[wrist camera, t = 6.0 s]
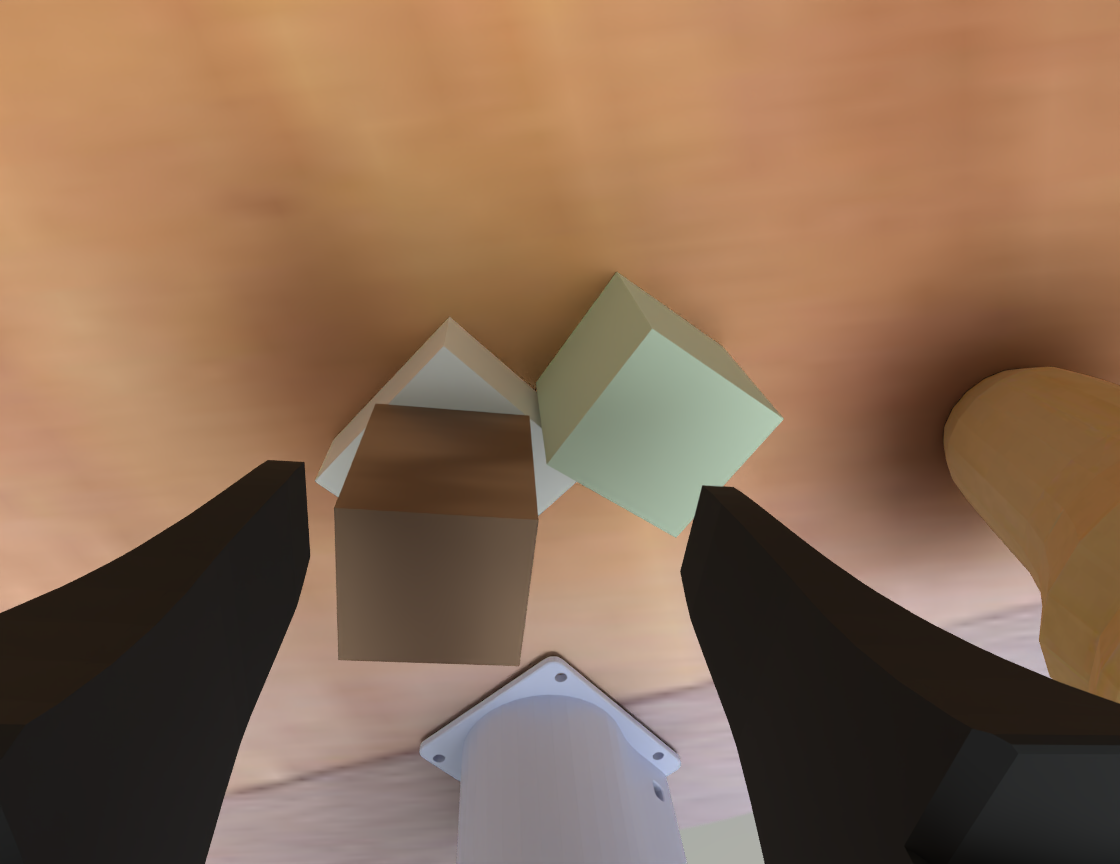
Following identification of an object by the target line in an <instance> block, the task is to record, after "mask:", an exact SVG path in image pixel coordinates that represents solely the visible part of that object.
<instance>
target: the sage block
mask: <svg viewBox="0 0 1120 864" xmlns="http://www.w3.org/2000/svg"><path fill="white" fill-rule="evenodd" d="M536 388H537V396H538V403H539V411H540V418H541V426H542V433H543V441H544V448H545V456H546V464H547V465H548V466H550V467H552V468H554V469H555V470H557V471H559V472H561V473H562V474H564V475H566V476H568V477H569V478H571V479H573V480H575V481H577V482H578V483H580V484H582V485H584V486H585V487H587V488H589V489H591V490H592V491H594V492H596V493H598V494H600V495H601V496H603V497H605V498H607V499H608V500H610V501H612V502H614V503H615V504H617V505H619V506H621V507H623V508H624V509H626V510H628V511H630V512H631V513H633V514H635V515H637V516H638V517H640V518H642V519H644V520H646V521H647V522H649V523H651V524H653V525H654V526H656V527H658V528H660V529H661V530H663V531H665V532H667V533H669V534H670V535H672V536H674V537H677V536H678V535H679V534H680V533H681V532H682V531H683V529H684V528H685V527H686V526H687V525H688V524H689V523H690V522H691V521H692V520H693V518H694V516H695V512H696V508H697V504H698V500H699V496H700V492H701V488H702V485H705V486H722V487H723V485H724V484H725V483H726V482H727V481H728V480H729V479H730V478H731V477H732V476H733V474H734V473H735V472H736V471H737V470H738V469H739V468H740V467H741V466H742V465H743V463H744V462H745V461H746V460H747V459H748V458H749V457H750V456H751V455H752V454H753V452H754V451H755V450H756V449H757V448H758V447H759V446H760V445H761V444H762V443H763V441H764V440H765V439H766V438H767V437H768V436H769V435H770V434H771V433H772V431H773V430H774V429H775V428H776V427H777V426H778V425H779V424H780V423H781V422H782V420H783V419H784V418H783V417H782V416H781V415H780V414H779V413H778V411H777V410H776V409H775V408H774V407H773V405H772V404H771V403H770V402H769V401H768V400H767V398H766V397H765V396H764V395H763V394H762V392H761V391H760V390H759V389H758V388H757V387H756V385H755V384H754V383H753V382H752V381H751V379H750V378H749V377H748V376H747V375H746V374H745V372H744V371H743V370H742V369H741V368H740V366H739V365H738V364H737V363H736V362H735V360H734V359H733V358H732V357H731V356H730V355H729V353H728V352H727V351H726V350H725V349H724V347H723V346H721V345H720V344H718V343H717V342H716V341H714V340H713V339H711V338H710V337H708V336H707V335H706V334H704V333H703V332H701V331H700V330H699V329H697V328H696V327H694V326H693V325H692V324H690V323H689V322H687V321H686V320H684V319H683V318H682V317H680V316H679V315H677V314H676V313H675V312H673V311H672V310H670V309H669V308H667V307H666V306H665V305H663V304H662V303H660V302H659V301H658V300H656V299H655V298H653V297H652V296H651V295H649V294H648V293H646V292H645V291H643V290H642V289H641V288H639V287H638V286H636V285H635V284H634V283H632V282H631V281H629V280H628V279H626V278H625V277H624V276H622V275H621V274H619V273H618V272H616V273H615V275H614V276H613V277H612V279H611V280H610V282H609V283H608V284H607V286H606V287H605V288H604V290H603V291H602V293H601V294H600V295H599V297H598V298H597V299H596V301H595V302H594V304H593V305H592V306H591V308H590V309H589V310H588V312H587V313H586V314H585V316H584V317H583V319H582V320H581V321H580V323H579V324H578V325H577V327H576V328H575V330H574V331H573V332H572V334H571V335H570V336H569V338H568V339H567V340H566V342H565V343H564V345H563V346H562V347H561V349H560V350H559V351H558V353H557V354H556V356H555V357H554V358H553V360H552V361H551V362H550V364H549V365H548V367H547V368H546V369H545V371H544V372H543V373H542V375H541V376H540V377H539V379H538V380H537V382H536Z"/></svg>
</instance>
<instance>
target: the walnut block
mask: <svg viewBox="0 0 1120 864" xmlns="http://www.w3.org/2000/svg"><path fill="white" fill-rule="evenodd" d="M334 517H335V553H336V589H337V624H338V660H352V661H382V662H412V663H443V664H473V665H504V666H519V665H520V657H521V649H522V642H523V634H524V626H525V619H526V611H527V604H528V596H529V588H530V581H531V573H532V565H533V558H534V550H535V543H536V535H537V527H538V509H537V497H536V486H535V474H534V462H533V451H532V439H531V427H530V416H529V415H516V414H503V413H490V412H478V411H465V410H452V409H440V408H427V407H414V406H401V405H389V404H376V403H375V406H374V408H373V411H372V413H371V416H370V418H369V421H368V424H367V426H366V429H365V431H364V434H363V436H362V439H361V441H360V444H359V446H358V449H357V451H356V454H355V456H354V459H353V462H352V464H351V467H350V469H349V472H348V474H347V477H346V479H345V482H344V484H343V487H342V489H341V492H340V494H339V497H338V500H337V502H336V505H335V507H334Z"/></svg>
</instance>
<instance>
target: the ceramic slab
mask: <svg viewBox="0 0 1120 864" xmlns="http://www.w3.org/2000/svg"><path fill="white" fill-rule="evenodd" d="M375 403H376V404H389V405H401V406H414V407H427V408H440V409H452V410H465V411H478V412H490V413H503V414H516V415H529V416H530V427H531V439H532V451H533V462H534V474H535V486H536V497H537V509H538V516H539V515H540V514H541V513H542V512H543V511H544V510H546V509H547V508H548V507H549V506H550V505H551V504H552V503H553V502H555V501H556V500H557V499H558V498H559V497H560V496H561V495H562V494H564V493H565V492H566V491H567V490H568V489H569V488H570V487H571V486H573V485H574V484H575V483H576V482H577V481H575V480H573V479H571V478H569V477H568V476H566V475H564V474H562V473H561V472H559V471H557V470H555V469H554V468H552V467H550V466H548V465H547V464H546V456H545V448H544V441H543V433H542V426H541V418H540V411H539V403H538V396H537V392H536V391H535V390H534V389H532V388H531V387H530V386H529V385H528V384H527V383H526V382H524V381H523V380H522V379H521V378H520V377H519V376H517V375H516V374H515V373H514V372H513V371H512V370H511V369H509V368H508V367H507V366H506V365H505V364H504V363H502V362H501V361H500V360H499V359H498V358H497V357H496V356H494V355H493V354H492V353H491V352H490V351H489V350H487V349H486V348H485V347H484V346H483V345H482V344H481V343H479V342H478V341H477V340H476V339H475V338H474V337H472V336H471V335H470V334H469V333H468V332H467V331H466V330H464V329H463V328H462V327H461V326H460V325H459V324H458V323H456V322H455V321H454V320H453V319H452V318H451V317H449V318H448V319H447V320H446V321H445V322H444V323H443V324H442V325H441V326H440V327H439V328H438V329H437V330H436V331H435V332H434V334H433V335H432V336H431V337H430V338H429V339H428V340H427V341H426V342H425V343H424V344H423V345H422V346H421V347H420V348H419V349H418V351H417V352H416V353H415V354H414V355H413V356H412V357H411V358H410V359H409V360H408V361H407V362H406V363H405V364H404V365H403V366H402V367H401V369H400V370H399V371H398V372H397V373H396V374H395V375H394V376H393V377H392V378H391V379H390V380H389V381H388V382H387V383H386V384H385V386H384V387H383V388H382V389H381V390H380V391H379V392H378V393H377V394H376V395H375V396H374V397H373V398H372V399H371V400H370V401H369V403H368V404H367V405H366V406H365V407H364V408H363V409H362V410H361V411H360V412H359V413H358V414H357V415H356V416H355V417H354V418H353V419H352V421H351V422H350V423H349V424H348V425H347V426H346V427H345V428H344V429H343V430H342V431H341V432H340V433H339V434H338V435H337V436H336V438H335V439H334V440H333V441H332V444H331V446H330V448H329V450H328V452H327V455H326V457H325V459H324V461H323V464H322V466H321V468H320V470H319V472H318V475H317V477H316V479H315V482H316V483H318V484H319V485H321V486H322V487H324V488H325V489H327V490H328V491H330V492H331V493H333V494H334V495H336V496H337V497H339V494H340V492H341V489H342V487H343V484H344V482H345V479H346V477H347V474H348V472H349V469H350V467H351V464H352V462H353V459H354V456H355V454H356V451H357V449H358V446H359V444H360V441H361V439H362V436H363V434H364V431H365V429H366V426H367V424H368V421H369V418H370V416H371V413H372V411H373V408H374V406H375Z"/></svg>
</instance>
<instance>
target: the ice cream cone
mask: <svg viewBox="0 0 1120 864" xmlns="http://www.w3.org/2000/svg"><path fill="white" fill-rule="evenodd" d="M943 445H944V451H945V456H946V462H947V465H948V468H949V471H950V474H951V477H952V480H953V481H954V483H955V484H956V485H957V487H958V488H959V490H960V491H961V492H962V494H963V495H964V496H965V498H966V499H967V501H968V502H969V503H970V504H971V505H972V507H973V508H974V509H975V510H976V511H977V512H978V514H979V515H980V516H981V517H982V518H983V520H984V521H985V522H986V523H987V524H988V525H989V527H990V528H991V529H992V530H993V531H994V532H995V533H996V535H997V536H998V537H999V538H1000V539H1001V540H1002V542H1003V543H1004V544H1005V545H1006V546H1007V547H1008V548H1009V550H1010V551H1011V552H1012V553H1013V554H1014V555H1015V556H1016V557H1017V559H1018V560H1019V561H1020V562H1021V563H1022V564H1023V565H1024V567H1025V568H1026V569H1027V570H1028V571H1029V572H1030V574H1031V576H1032V578H1033V579H1034V581H1035V583H1036V585H1037V587H1038V589H1039V590H1040V592H1041V599H1042V616H1041V625H1040V635H1039V642H1040V645H1041V649H1042V652H1043V655H1044V659H1045V662H1046V665H1047V668H1048V672H1049V675H1050V677H1051V678H1052V679H1053V680H1056V681H1058V682H1061V683H1064V684H1066V685H1069V686H1072V687H1075V688H1078V689H1080V690H1083V691H1086V692H1089V693H1091V694H1094V695H1097V696H1100V697H1103V698H1105V699H1108V700H1111V701H1114V702H1117V703H1119V704H1120V385H1117V384H1114V383H1111V382H1109V381H1106V380H1102V379H1099V378H1095V377H1092V376H1088V375H1085V374H1081V373H1078V372H1074V371H1070V370H1065V369H1060V368H1056V367H1051V366H1050V367H1036V368H1022V369H1014V370H1005V371H1002V372H1000V373H997V374H995V375H992V376H990V377H988V378H985V379H983V380H982V381H981V382H979V383H978V384H977V385H975V386H974V387H973V388H971V389H970V390H969V391H967V392H966V393H965V394H964V396H963V397H962V398H961V399H960V400H959V402H958V403H957V404H956V405H955V406H954V408H953V409H952V411H951V413H950V415H949V418H948V420H947V422H946V424H945V426H944V438H943Z"/></svg>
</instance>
